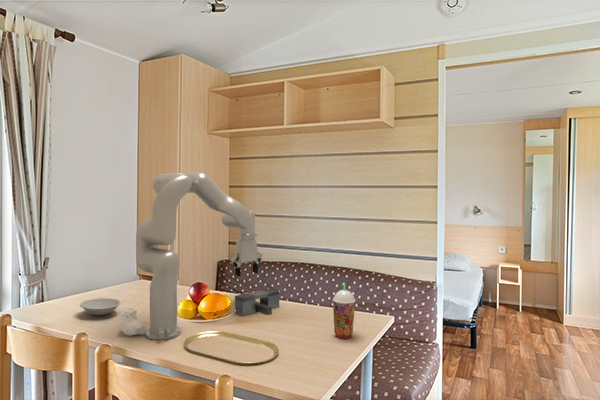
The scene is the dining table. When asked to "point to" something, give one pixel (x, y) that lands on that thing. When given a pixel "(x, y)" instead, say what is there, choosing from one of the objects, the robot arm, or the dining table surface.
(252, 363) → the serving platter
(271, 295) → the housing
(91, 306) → the dish
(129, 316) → the duck figurine
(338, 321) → the smoothie
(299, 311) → the dining table surface
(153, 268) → the robot arm
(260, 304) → the plug
